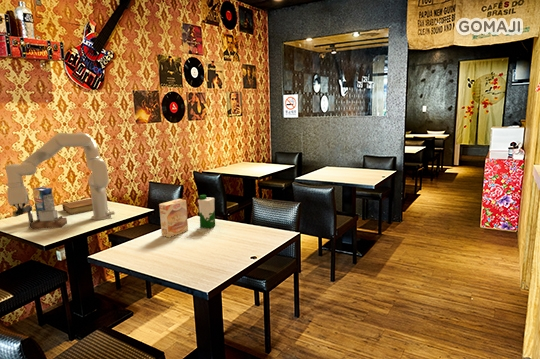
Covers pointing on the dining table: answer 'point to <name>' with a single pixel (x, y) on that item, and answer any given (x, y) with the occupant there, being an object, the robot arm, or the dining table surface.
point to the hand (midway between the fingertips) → (21, 214)
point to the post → (30, 218)
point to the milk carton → (206, 212)
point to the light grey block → (48, 215)
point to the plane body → (49, 223)
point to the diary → (78, 206)
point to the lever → (26, 209)
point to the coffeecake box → (173, 217)
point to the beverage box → (43, 199)
